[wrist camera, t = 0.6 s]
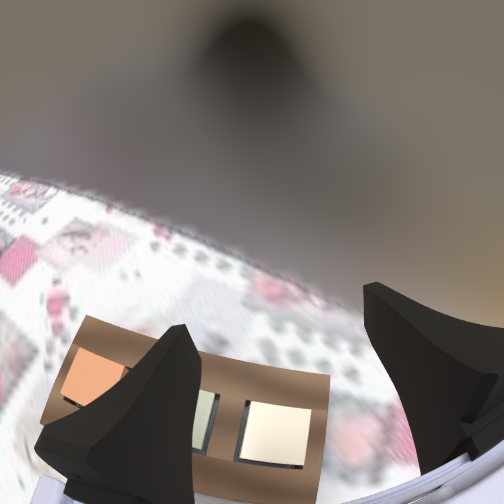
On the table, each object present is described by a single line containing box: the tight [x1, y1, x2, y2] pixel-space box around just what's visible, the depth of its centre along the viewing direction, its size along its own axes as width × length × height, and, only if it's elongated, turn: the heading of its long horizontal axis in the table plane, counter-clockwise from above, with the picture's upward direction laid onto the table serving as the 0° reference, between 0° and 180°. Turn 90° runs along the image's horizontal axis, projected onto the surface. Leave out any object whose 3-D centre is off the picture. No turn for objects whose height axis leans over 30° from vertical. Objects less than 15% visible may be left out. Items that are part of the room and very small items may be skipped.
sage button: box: [192, 390, 215, 450], centre depth 19 cm, size 5×5×2 cm
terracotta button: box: [60, 347, 129, 406], centre depth 20 cm, size 5×5×2 cm
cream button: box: [238, 401, 311, 465], centre depth 19 cm, size 5×5×2 cm
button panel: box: [40, 315, 330, 504], centre depth 21 cm, size 13×25×2 cm, turn 80°
